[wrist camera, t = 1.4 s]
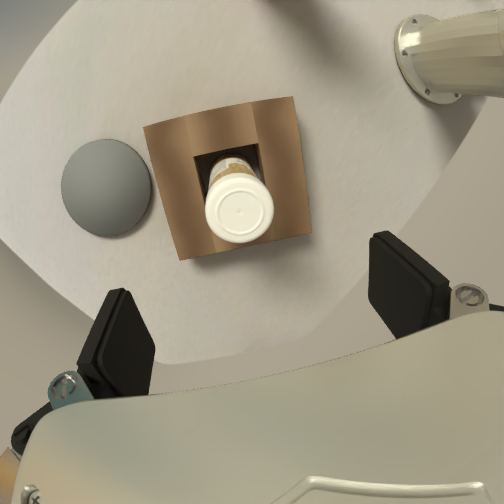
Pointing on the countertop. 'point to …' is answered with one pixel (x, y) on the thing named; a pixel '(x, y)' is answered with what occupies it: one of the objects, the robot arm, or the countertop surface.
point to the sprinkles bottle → (237, 201)
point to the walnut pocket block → (220, 138)
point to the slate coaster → (106, 187)
